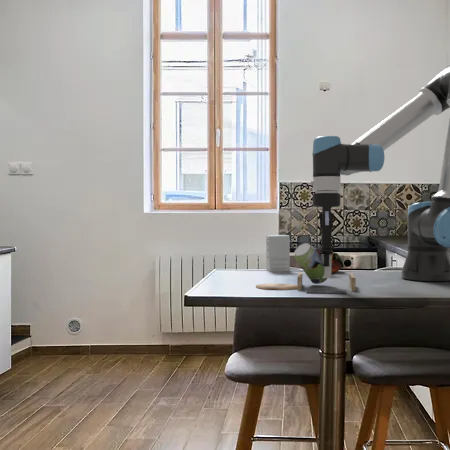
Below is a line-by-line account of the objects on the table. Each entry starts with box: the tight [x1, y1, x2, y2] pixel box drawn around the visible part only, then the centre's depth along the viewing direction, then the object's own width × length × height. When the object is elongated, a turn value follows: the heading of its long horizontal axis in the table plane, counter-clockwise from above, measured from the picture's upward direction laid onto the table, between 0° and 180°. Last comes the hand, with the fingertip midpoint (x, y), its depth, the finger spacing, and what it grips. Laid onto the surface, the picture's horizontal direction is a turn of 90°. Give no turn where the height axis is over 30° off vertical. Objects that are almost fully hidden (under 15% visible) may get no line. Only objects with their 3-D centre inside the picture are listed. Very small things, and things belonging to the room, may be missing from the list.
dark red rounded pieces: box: [314, 246, 345, 274], centre depth 196 cm, size 12×12×15 cm
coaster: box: [255, 283, 297, 291], centre depth 160 cm, size 12×12×1 cm
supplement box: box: [265, 234, 291, 273], centre depth 206 cm, size 7×7×13 cm
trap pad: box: [306, 289, 348, 295], centre depth 149 cm, size 10×4×1 cm, turn 81°
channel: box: [296, 271, 357, 292], centre depth 159 cm, size 15×12×4 cm
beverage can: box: [293, 242, 329, 285], centre depth 163 cm, size 6×7×12 cm
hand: (326, 277), depth 163 cm, fingers closed
